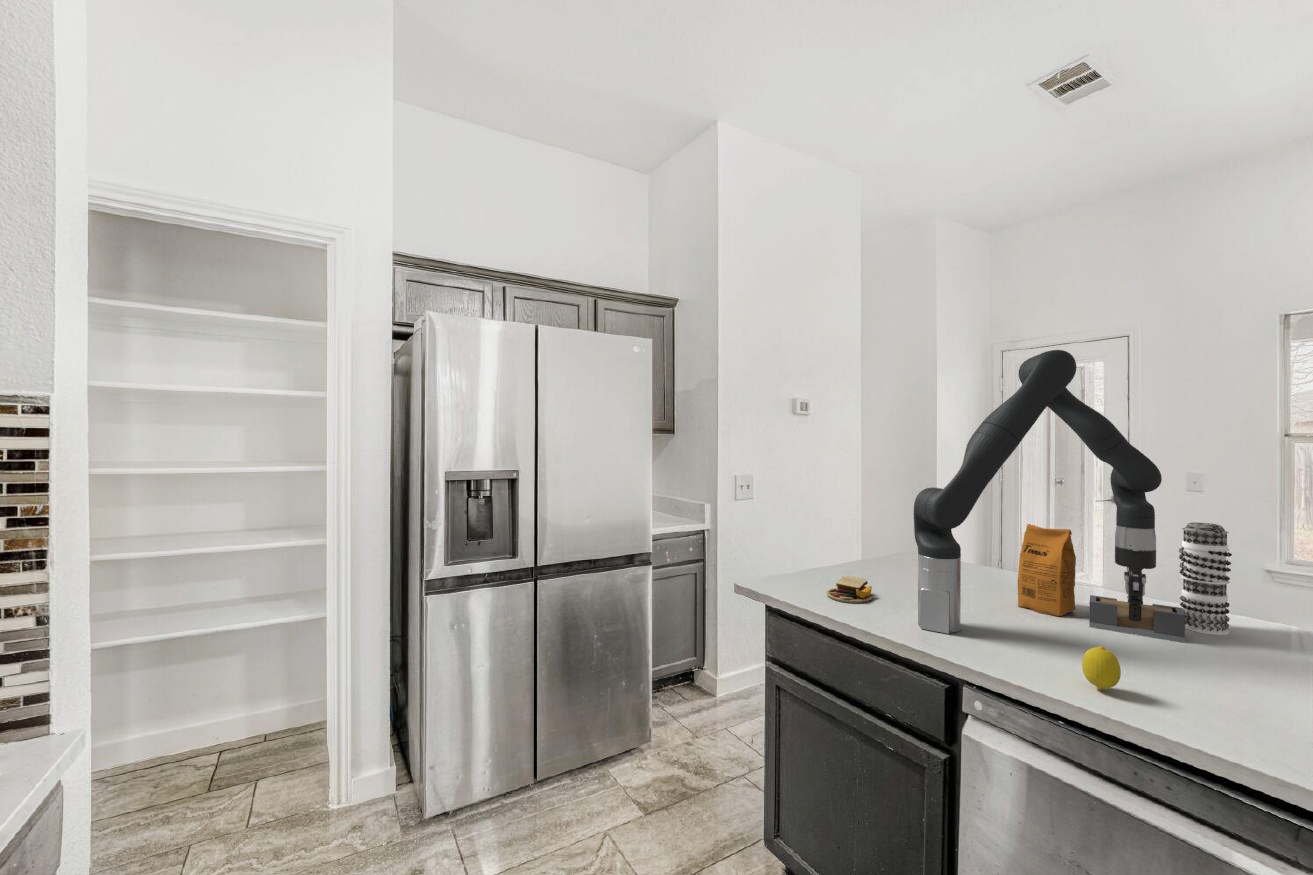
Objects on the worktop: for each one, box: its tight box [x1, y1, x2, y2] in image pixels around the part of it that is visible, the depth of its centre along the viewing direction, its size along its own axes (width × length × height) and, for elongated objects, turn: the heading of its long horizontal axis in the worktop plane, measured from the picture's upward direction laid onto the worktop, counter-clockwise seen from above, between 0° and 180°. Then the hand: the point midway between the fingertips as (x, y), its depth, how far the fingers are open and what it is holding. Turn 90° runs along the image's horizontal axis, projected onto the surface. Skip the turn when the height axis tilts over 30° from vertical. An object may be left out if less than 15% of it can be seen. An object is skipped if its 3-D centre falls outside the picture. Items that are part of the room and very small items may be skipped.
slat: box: [1100, 598, 1173, 630], centre depth 136 cm, size 3×13×5 cm, turn 52°
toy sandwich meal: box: [825, 575, 874, 604], centre depth 163 cm, size 12×14×5 cm
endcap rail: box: [1088, 594, 1186, 644], centre depth 136 cm, size 8×17×6 cm, turn 52°
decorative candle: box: [1178, 522, 1233, 636], centre depth 136 cm, size 9×9×25 cm
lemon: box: [1081, 645, 1122, 691], centre depth 104 cm, size 6×6×8 cm
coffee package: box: [1017, 523, 1077, 617], centre depth 152 cm, size 10×12×22 cm
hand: (1134, 618), depth 136 cm, fingers closed on slat, 3 cm apart
